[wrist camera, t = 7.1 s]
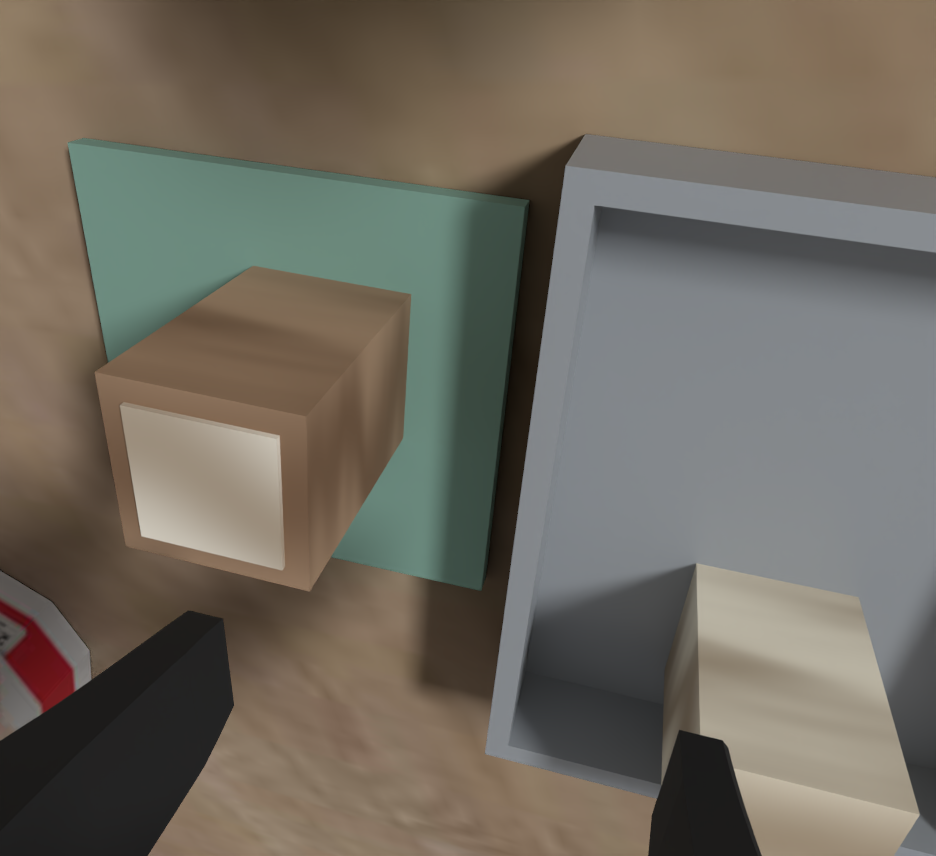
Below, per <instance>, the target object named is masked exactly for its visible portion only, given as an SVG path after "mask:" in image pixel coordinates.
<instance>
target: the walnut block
mask: <svg viewBox="0 0 936 856" xmlns="http://www.w3.org/2000/svg"><path fill="white" fill-rule="evenodd" d="M410 309H411V294H408V293H402V292H397V291H391V290H386V289H380V288H375V287H369V286H363V285H358V284H352V283H347V282H341V281H336V280H330V279H324V278H319V277H313V276H308V275H302V274H297V273H291V272H285V271H280V270H274V269H269V268H263V267H258V266H252V267H250V268H249V269H247V270H246V271H244V272H243V273H241V274H240V275H239V276H237V277H236V278H234V279H233V280H231V281H230V282H228V283H227V284H225V285H224V286H222V287H221V288H219V289H218V290H216V291H215V292H213V293H212V294H210V295H209V296H207V297H206V298H204V299H203V300H201V301H200V302H198V303H197V304H195V305H194V306H192V307H191V308H189V309H188V310H186V311H185V312H183V313H182V314H180V315H179V316H177V317H176V318H174V319H173V320H171V321H170V322H168V323H167V324H165V325H164V326H162V327H161V328H159V329H158V330H156V331H155V332H153V333H152V334H150V335H149V336H148V337H146V338H145V339H143V340H142V341H140V342H139V343H137V344H136V345H134V346H133V347H131V348H130V349H128V350H127V351H125V352H124V353H122V354H121V355H119V356H118V357H116V358H115V359H113V360H112V361H110V362H109V363H107V364H106V365H104V366H103V367H101V368H100V369H98V370H97V371H95V372H94V373H95V378H96V384H97V389H98V395H99V400H100V406H101V412H102V417H103V423H104V428H105V434H106V439H107V445H108V450H109V456H110V461H111V467H112V472H113V478H114V483H115V489H116V495H117V500H118V506H119V511H120V517H121V522H122V528H123V533H124V539H125V544H126V546H127V547H131V548H135V549H139V550H143V551H147V552H151V553H155V554H159V555H163V556H167V557H171V558H175V559H179V560H183V561H187V562H192V563H196V564H200V565H204V566H208V567H212V568H216V569H220V570H224V571H228V572H232V573H236V574H240V575H244V576H248V577H252V578H256V579H260V580H264V581H269V582H273V583H277V584H281V585H285V586H289V587H293V588H297V589H301V590H305V591H309V592H310V590H311V589H312V587H313V586H314V584H315V582H316V581H317V579H318V577H319V576H320V574H321V572H322V571H323V569H324V567H325V566H326V564H327V563H328V561H329V559H330V558H331V556H332V554H333V553H334V551H335V549H336V548H337V546H338V544H339V543H340V541H341V540H342V538H343V536H344V535H345V533H346V531H347V530H348V528H349V526H350V525H351V523H352V521H353V520H354V518H355V517H356V515H357V513H358V512H359V510H360V508H361V507H362V505H363V503H364V502H365V500H366V498H367V497H368V495H369V494H370V492H371V490H372V489H373V487H374V485H375V484H376V482H377V480H378V479H379V477H380V475H381V474H382V472H383V471H384V469H385V467H386V466H387V464H388V462H389V461H390V459H391V457H392V456H393V454H394V452H395V451H396V449H397V448H398V446H399V444H400V443H401V441H402V439H403V433H404V415H405V398H406V380H407V362H408V344H409V326H410Z"/></svg>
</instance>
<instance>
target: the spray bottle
mask: <svg viewBox="0 0 936 856" xmlns="http://www.w3.org/2000/svg"><path fill="white" fill-rule="evenodd" d="M89 681H91V666H90V650H89V649H88V648H87V646H86V645H85V644H84V643H83V641H82V640H81V639H80V637H79V636H78V635H77V634H76V632H75V631H74V630H73V628H72V627H71V626H70V624H69V623H68V622H67V621H66V619H65V618H64V617H63V615H62V614H61V613H60V612H59V610H58V609H57V608H56V606H55V605H54V604H53V603H52V602H51V601H50V600H48V599H46V598H45V597H43V596H41V595H40V594H38V593H36V592H35V591H33V590H31V589H30V588H28V587H26V586H25V585H23V584H21V583H20V582H18V581H17V580H15V579H13V578H12V577H10V576H8V575H7V574H5V573H3V572H2V571H0V740H2V739H3V738H5V737H7V736H8V735H10V734H11V733H13V732H14V731H16V730H17V729H19V728H21V727H22V726H24V725H25V724H27V723H28V722H30V721H31V720H33V719H35V718H36V717H38V716H39V715H41V714H42V713H44V712H45V711H47V710H48V709H50V708H51V707H53V706H54V705H56V704H57V703H59V702H60V701H62V700H63V699H65V698H66V697H68V696H69V695H70V694H72V693H73V692H75V691H76V690H78V689H79V688H80V687H82V686H83V685H85V684H86V683H88V682H89Z"/></svg>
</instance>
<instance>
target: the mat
mask: <svg viewBox="0 0 936 856" xmlns="http://www.w3.org/2000/svg"><path fill="white" fill-rule="evenodd" d="M68 148H69V153H70V158H71V164H72V169H73V175H74V180H75V186H76V191H77V196H78V202H79V207H80V213H81V218H82V224H83V229H84V234H85V240H86V245H87V251H88V256H89V261H90V267H91V272H92V278H93V283H94V289H95V294H96V299H97V305H98V310H99V316H100V321H101V327H102V332H103V337H104V343H105V348H106V354H107V359H108V363H109V362H110V361H112V360H113V359H115V358H116V357H118V356H119V355H121V354H122V353H124V352H125V351H127V350H128V349H130V348H131V347H133V346H134V345H136V344H137V343H139V342H140V341H142V340H143V339H145V338H146V337H148V336H149V335H150V334H152V333H153V332H155V331H156V330H158V329H159V328H161V327H162V326H164V325H165V324H167V323H168V322H170V321H171V320H173V319H174V318H176V317H177V316H179V315H180V314H182V313H183V312H185V311H186V310H188V309H189V308H191V307H192V306H194V305H195V304H197V303H198V302H200V301H201V300H203V299H204V298H206V297H207V296H209V295H210V294H212V293H213V292H215V291H216V290H218V289H219V288H221V287H222V286H224V285H225V284H227V283H228V282H230V281H231V280H233V279H234V278H236V277H237V276H239V275H240V274H241V273H243V272H244V271H246V270H247V269H249V268H250V267H252V266H258V267H263V268H269V269H274V270H280V271H285V272H291V273H297V274H302V275H308V276H313V277H319V278H324V279H330V280H336V281H341V282H347V283H352V284H358V285H363V286H369V287H375V288H380V289H386V290H391V291H397V292H402V293H408V294H411V309H410V326H409V344H408V362H407V380H406V398H405V415H404V433H403V439H402V441H401V443H400V444H399V446H398V448H397V449H396V451H395V452H394V454H393V456H392V457H391V459H390V461H389V462H388V464H387V466H386V467H385V469H384V471H383V472H382V474H381V475H380V477H379V479H378V480H377V482H376V484H375V485H374V487H373V489H372V490H371V492H370V494H369V495H368V497H367V498H366V500H365V502H364V503H363V505H362V507H361V508H360V510H359V512H358V513H357V515H356V517H355V518H354V520H353V521H352V523H351V525H350V526H349V528H348V530H347V531H346V533H345V535H344V536H343V538H342V540H341V541H340V543H339V544H338V546H337V548H336V549H335V551H334V553H333V554H332V556H331V557H333V558H337V559H341V560H346V561H350V562H355V563H359V564H364V565H368V566H373V567H377V568H381V569H386V570H390V571H395V572H399V573H404V574H408V575H412V576H417V577H421V578H426V579H430V580H435V581H439V582H443V583H448V584H452V585H457V586H461V587H466V588H470V589H475V590H479V591H481V590H482V587H483V584H484V581H485V578H486V571H487V563H488V554H489V545H490V537H491V528H492V519H493V511H494V502H495V494H496V485H497V476H498V468H499V459H500V451H501V442H502V433H503V425H504V416H505V408H506V399H507V390H508V382H509V373H510V365H511V356H512V347H513V339H514V330H515V322H516V313H517V304H518V296H519V287H520V279H521V270H522V261H523V253H524V244H525V236H526V227H527V218H528V210H529V201H530V200H525V199H518V198H511V197H503V196H496V195H489V194H482V193H475V192H467V191H460V190H453V189H446V188H439V187H432V186H424V185H417V184H410V183H403V182H396V181H389V180H381V179H374V178H367V177H360V176H353V175H346V174H338V173H331V172H324V171H317V170H310V169H303V168H295V167H288V166H281V165H274V164H267V163H259V162H252V161H245V160H238V159H231V158H224V157H216V156H209V155H202V154H195V153H188V152H181V151H173V150H166V149H159V148H152V147H145V146H138V145H130V144H123V143H116V142H109V141H102V140H95V139H87V138H82V139H79V140H75V141H71V142H68Z"/></svg>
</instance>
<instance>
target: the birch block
mask: <svg viewBox="0 0 936 856" xmlns="http://www.w3.org/2000/svg"><path fill="white" fill-rule="evenodd" d="M679 730H683V731H687V732H691V733H695V734H699V735H703V736H707V737H711V738H715V739H720V740H723V741H724V743H725V744H726V745H727V747H728V748H729V753H730V757H731V761H732V764H733V768H734V772H735V775H736V779H737V782H738V786H739V789H740V792H741V796H742V799H743V802H744V805H745V808H746V811H747V814H748V817H749V820H750V823H751V826H752V829H753V832H754V835H755V838H756V841H757V844H758V847H759V849H760V852H761V855H762V856H894V855H895V853H896V852H897V850H898V848H899V847H900V845H901V844H902V842H903V841H904V839H905V837H906V836H907V834H908V833H909V831H910V830H911V828H912V826H913V825H914V823H915V822H916V820H917V819H918V817H919V815H920V813H919V810H918V806H917V803H916V799H915V796H914V792H913V788H912V785H911V781H910V778H909V774H908V771H907V767H906V764H905V760H904V757H903V753H902V749H901V746H900V742H899V739H898V735H897V732H896V728H895V725H894V721H893V717H892V714H891V710H890V707H889V703H888V700H887V696H886V693H885V689H884V685H883V682H882V678H881V675H880V671H879V668H878V664H877V661H876V657H875V653H874V650H873V646H872V643H871V639H870V636H869V632H868V629H867V625H866V621H865V618H864V614H863V611H862V607H861V604H860V600H859V597H855V596H850V595H845V594H841V593H836V592H831V591H826V590H822V589H817V588H812V587H807V586H802V585H798V584H793V583H788V582H783V581H779V580H774V579H769V578H764V577H760V576H755V575H750V574H745V573H740V572H736V571H731V570H726V569H721V568H717V567H712V566H707V565H702V564H698V563H696V567H695V570H694V573H693V577H692V580H691V583H690V587H689V590H688V593H687V597H686V600H685V603H684V607H683V610H682V613H681V617H680V620H679V623H678V627H677V630H676V633H675V637H674V640H673V643H672V647H671V650H670V653H669V657H668V660H667V663H666V667H665V671H664V706H663V742H662V777H661V785H662V782H663V779H664V776H665V773H666V770H667V766H668V763H669V760H670V757H671V754H672V751H673V747H674V744H675V741H676V738H677V735H678V732H679Z"/></svg>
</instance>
